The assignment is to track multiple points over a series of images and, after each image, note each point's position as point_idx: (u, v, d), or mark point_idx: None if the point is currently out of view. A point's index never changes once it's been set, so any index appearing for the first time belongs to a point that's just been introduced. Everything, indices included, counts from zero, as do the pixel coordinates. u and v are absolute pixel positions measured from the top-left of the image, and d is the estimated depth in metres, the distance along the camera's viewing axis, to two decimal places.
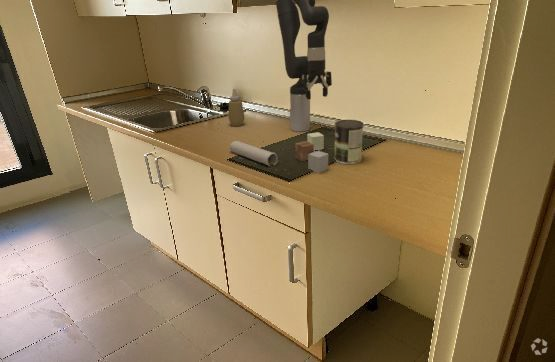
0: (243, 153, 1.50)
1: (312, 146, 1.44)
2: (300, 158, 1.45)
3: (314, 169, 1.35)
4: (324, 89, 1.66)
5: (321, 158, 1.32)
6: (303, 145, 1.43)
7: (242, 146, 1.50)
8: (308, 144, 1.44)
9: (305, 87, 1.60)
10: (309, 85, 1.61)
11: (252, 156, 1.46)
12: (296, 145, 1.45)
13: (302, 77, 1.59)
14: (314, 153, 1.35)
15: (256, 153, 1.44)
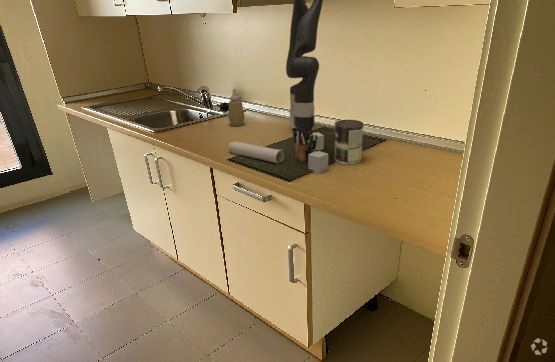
0: (246, 153, 1.50)
1: None
2: (300, 158, 1.45)
3: (314, 169, 1.35)
4: None
5: (321, 158, 1.32)
6: (303, 145, 1.43)
7: (244, 146, 1.51)
8: (308, 144, 1.44)
9: None
10: None
11: (257, 155, 1.47)
12: (296, 145, 1.45)
13: (313, 139, 1.38)
14: (314, 153, 1.35)
15: (261, 151, 1.45)
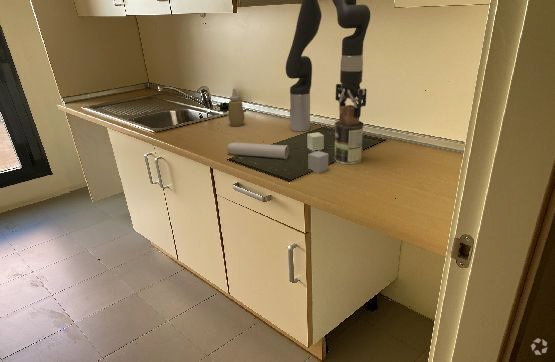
0: (249, 152, 1.50)
1: None
2: (345, 122, 1.37)
3: (314, 169, 1.35)
4: (343, 104, 1.40)
5: (321, 158, 1.32)
6: (349, 108, 1.35)
7: (246, 145, 1.51)
8: (354, 107, 1.36)
9: None
10: None
11: (262, 153, 1.49)
12: (341, 108, 1.37)
13: (362, 92, 1.29)
14: (314, 153, 1.35)
15: (268, 149, 1.48)
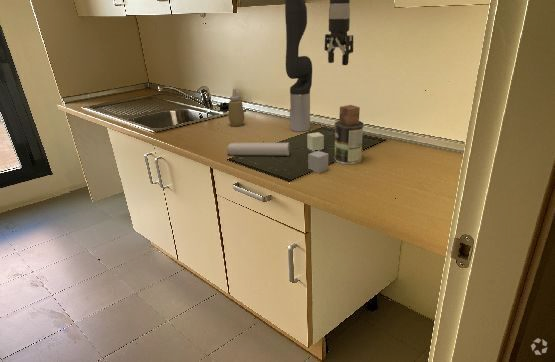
0: (251, 151, 1.51)
1: (358, 109, 1.36)
2: (345, 122, 1.37)
3: (314, 169, 1.35)
4: (332, 54, 1.47)
5: (321, 158, 1.32)
6: (349, 108, 1.35)
7: (247, 145, 1.51)
8: (354, 107, 1.36)
9: None
10: None
11: (265, 151, 1.50)
12: (341, 108, 1.37)
13: (349, 38, 1.35)
14: (314, 153, 1.35)
15: (270, 147, 1.50)
